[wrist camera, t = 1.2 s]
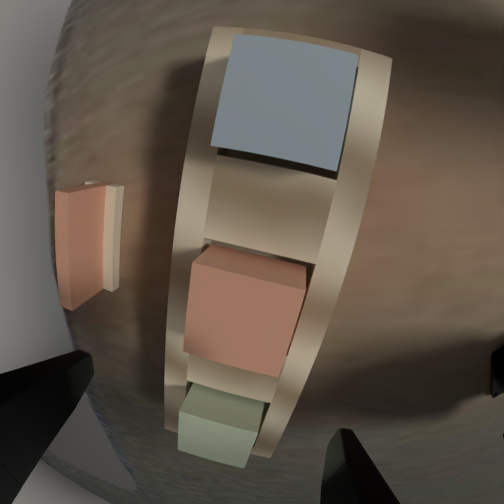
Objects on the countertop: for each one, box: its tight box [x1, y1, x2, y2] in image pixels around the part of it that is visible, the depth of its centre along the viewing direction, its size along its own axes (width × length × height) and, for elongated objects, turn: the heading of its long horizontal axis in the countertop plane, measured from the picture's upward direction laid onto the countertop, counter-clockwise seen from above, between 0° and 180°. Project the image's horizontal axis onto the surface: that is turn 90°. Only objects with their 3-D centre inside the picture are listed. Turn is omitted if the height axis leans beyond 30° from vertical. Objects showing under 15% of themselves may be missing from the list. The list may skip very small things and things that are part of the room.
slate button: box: [210, 34, 358, 172], centre depth 12 cm, size 5×5×3 cm
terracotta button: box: [183, 244, 306, 377], centre depth 15 cm, size 5×5×3 cm
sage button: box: [178, 382, 264, 468], centre depth 18 cm, size 5×5×3 cm
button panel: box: [164, 27, 392, 458], centre depth 18 cm, size 28×9×4 cm, turn 169°
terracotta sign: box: [55, 180, 124, 311], centre depth 18 cm, size 8×3×5 cm, turn 169°
